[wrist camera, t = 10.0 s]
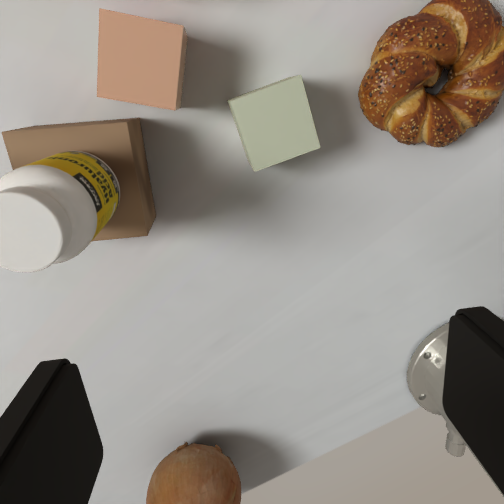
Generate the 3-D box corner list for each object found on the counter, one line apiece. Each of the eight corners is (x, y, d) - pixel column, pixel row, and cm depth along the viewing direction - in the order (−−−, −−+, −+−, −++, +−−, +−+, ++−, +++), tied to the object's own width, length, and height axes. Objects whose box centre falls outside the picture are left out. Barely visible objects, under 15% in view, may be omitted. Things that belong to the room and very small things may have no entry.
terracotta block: (180, 107, 31) (175, 110, 26) (114, 96, 30) (97, 96, 25) (187, 36, 29) (183, 25, 24) (117, 22, 28) (99, 8, 24)
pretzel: (364, 164, 34) (381, 172, 31) (342, 25, 30) (359, 16, 26) (498, 125, 34) (531, 128, 30) (495, -21, 30) (532, -36, 26)
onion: (136, 446, 43) (116, 543, 34) (209, 407, 42) (209, 496, 33) (184, 494, 47) (178, 594, 37) (253, 460, 46) (264, 553, 36)
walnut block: (156, 216, 34) (147, 235, 29) (60, 225, 33) (36, 246, 28) (139, 117, 31) (126, 122, 26) (33, 126, 30) (1, 131, 25)
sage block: (304, 140, 33) (320, 147, 28) (248, 161, 33) (254, 172, 28) (287, 77, 31) (301, 74, 26) (227, 100, 31) (230, 101, 26)
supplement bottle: (137, 184, 28) (102, 229, 18) (92, 240, 29) (38, 308, 20) (69, 131, 26) (-7, 151, 17) (24, 192, 27) (-70, 242, 18)
